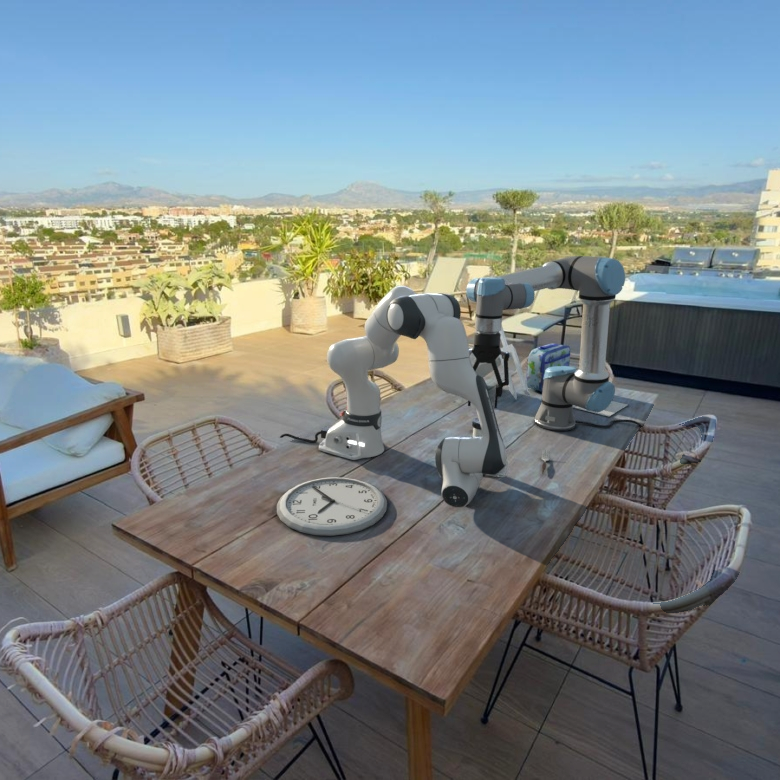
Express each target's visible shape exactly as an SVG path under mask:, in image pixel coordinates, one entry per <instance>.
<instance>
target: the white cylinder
mask: <svg viewBox="0 0 780 780" xmlns="http://www.w3.org/2000/svg"><path fill="white" fill-rule="evenodd" d="M472 428H473V429H472V437H481V436H483V434H482V430H480V429H476V428H474V427H473V426H472Z"/></svg>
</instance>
